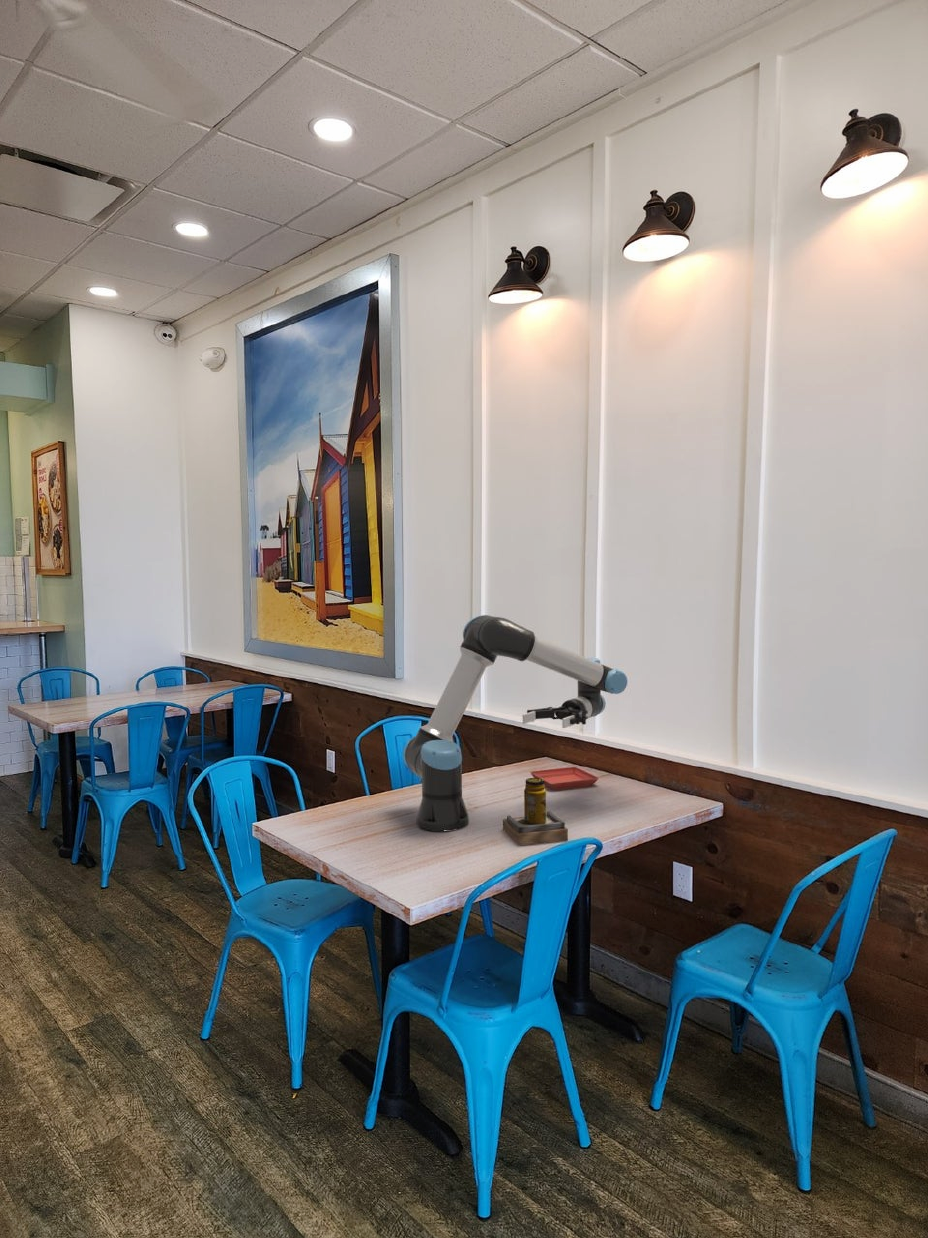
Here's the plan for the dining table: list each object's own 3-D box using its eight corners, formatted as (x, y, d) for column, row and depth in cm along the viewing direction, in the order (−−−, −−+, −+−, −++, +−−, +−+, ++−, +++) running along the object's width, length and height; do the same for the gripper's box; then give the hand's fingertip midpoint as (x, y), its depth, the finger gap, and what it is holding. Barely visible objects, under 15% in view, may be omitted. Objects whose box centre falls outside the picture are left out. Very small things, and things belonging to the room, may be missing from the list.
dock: (518, 845, 214) (518, 829, 214) (502, 829, 228) (502, 813, 227) (567, 840, 218) (567, 823, 218) (549, 824, 231) (548, 809, 231)
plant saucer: (529, 780, 281) (529, 770, 281) (575, 775, 287) (575, 765, 287) (551, 793, 264) (550, 783, 264) (599, 787, 270) (599, 778, 270)
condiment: (552, 822, 223) (552, 779, 222) (531, 829, 218) (530, 785, 217) (534, 816, 229) (533, 775, 228) (512, 823, 223) (511, 780, 222)
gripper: (611, 725, 251) (581, 738, 233) (541, 718, 265) (508, 729, 248) (611, 701, 250) (580, 712, 233) (541, 695, 264) (507, 705, 247)
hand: (543, 721), depth 240 cm, fingers open, 13 cm apart
